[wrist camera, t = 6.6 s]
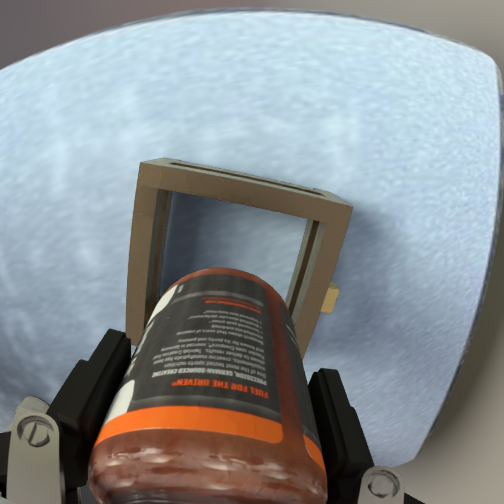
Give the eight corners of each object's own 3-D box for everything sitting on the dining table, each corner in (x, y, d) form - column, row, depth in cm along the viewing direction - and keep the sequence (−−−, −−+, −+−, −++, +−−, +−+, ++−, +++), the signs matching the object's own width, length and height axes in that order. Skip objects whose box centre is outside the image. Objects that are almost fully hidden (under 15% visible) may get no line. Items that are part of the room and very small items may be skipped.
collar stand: (145, 307, 24) (125, 343, 19) (163, 157, 20) (140, 162, 15) (297, 335, 25) (307, 376, 20) (340, 194, 21) (366, 210, 16)
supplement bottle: (132, 289, 13) (-6, 530, 2) (263, 240, 12) (310, 580, 2) (193, 388, 15) (159, 605, 4) (308, 354, 14) (363, 595, 4)
